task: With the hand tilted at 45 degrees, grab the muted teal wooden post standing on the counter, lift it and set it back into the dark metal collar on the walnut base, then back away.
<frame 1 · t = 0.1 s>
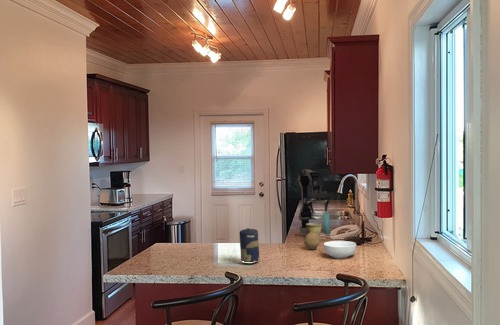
hand: (319, 212, 291), 15 cm above the counter, tool pointing down, fingers open, 9 cm apart
walnut base: (306, 234, 295), on the counter
ceramic cup: (315, 239, 277), on the counter
cereal bowl: (340, 257, 224), on the counter
natural sponge: (313, 250, 245), on the counter
canister: (250, 263, 222), on the counter
teal post: (327, 233, 293), on the counter
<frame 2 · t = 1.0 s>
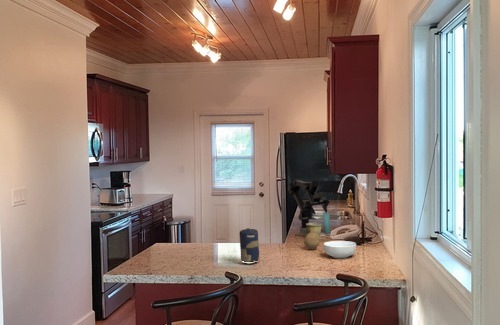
hand: (320, 213, 301), 13 cm above the counter, tool tilted 45°, fingers open, 9 cm apart
nothing on the counter moved.
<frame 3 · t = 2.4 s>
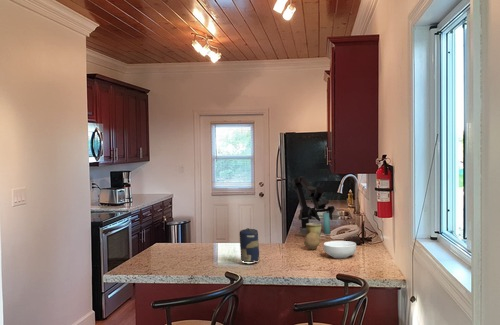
hand: (326, 220, 294), 9 cm above the counter, tool tilted 45°, fingers open, 9 cm apart
nothing on the counter moved.
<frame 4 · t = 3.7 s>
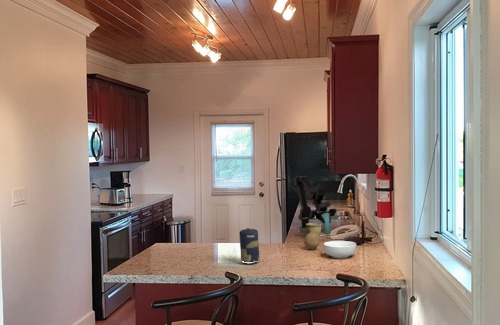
hand: (327, 222, 292), 8 cm above the counter, tool tilted 45°, fingers closed on teal post, 4 cm apart
teal post: (327, 233, 293), on the counter, touching gripper
everything else where it was.
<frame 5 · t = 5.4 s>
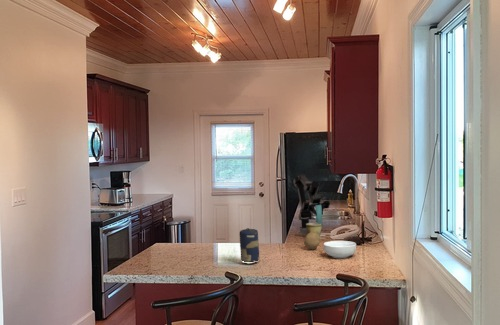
hand: (319, 214, 292), 13 cm above the counter, tool tilted 45°, fingers closed on teal post, 4 cm apart
teal post: (319, 225, 293), point 6 cm above the counter, touching gripper
everything else where it was.
when the fingers open (9 cm above the counter, at t = 7.4 s): teal post stays where it is, resting on walnut base.
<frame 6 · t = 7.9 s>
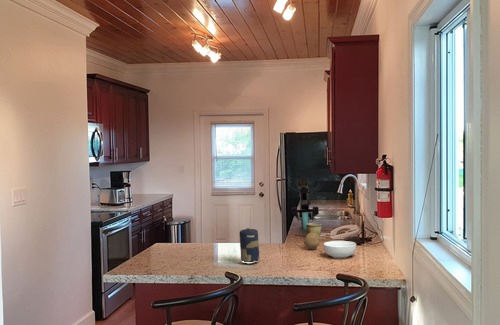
hand: (305, 220, 294), 10 cm above the counter, tool tilted 45°, fingers open, 9 cm apart
teal post: (306, 233, 295), point 1 cm above the counter, touching walnut base
everything else where it was.
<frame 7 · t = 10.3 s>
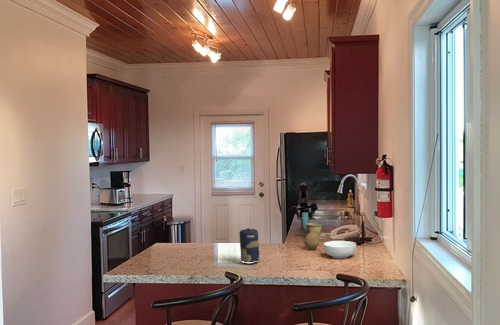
hand: (304, 218, 303), 10 cm above the counter, tool tilted 40°, fingers open, 9 cm apart
nothing on the counter moved.
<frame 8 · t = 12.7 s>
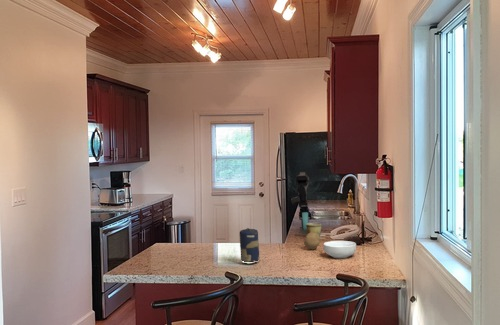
hand: (303, 214, 308), 12 cm above the counter, tool pointing down, fingers open, 9 cm apart
nothing on the counter moved.
at the end: teal post 0.1 cm off-centre on the walnut base, point 1.0 cm above the walnut base's base; teal post tilted 0°; the gripper is holding nothing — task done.
